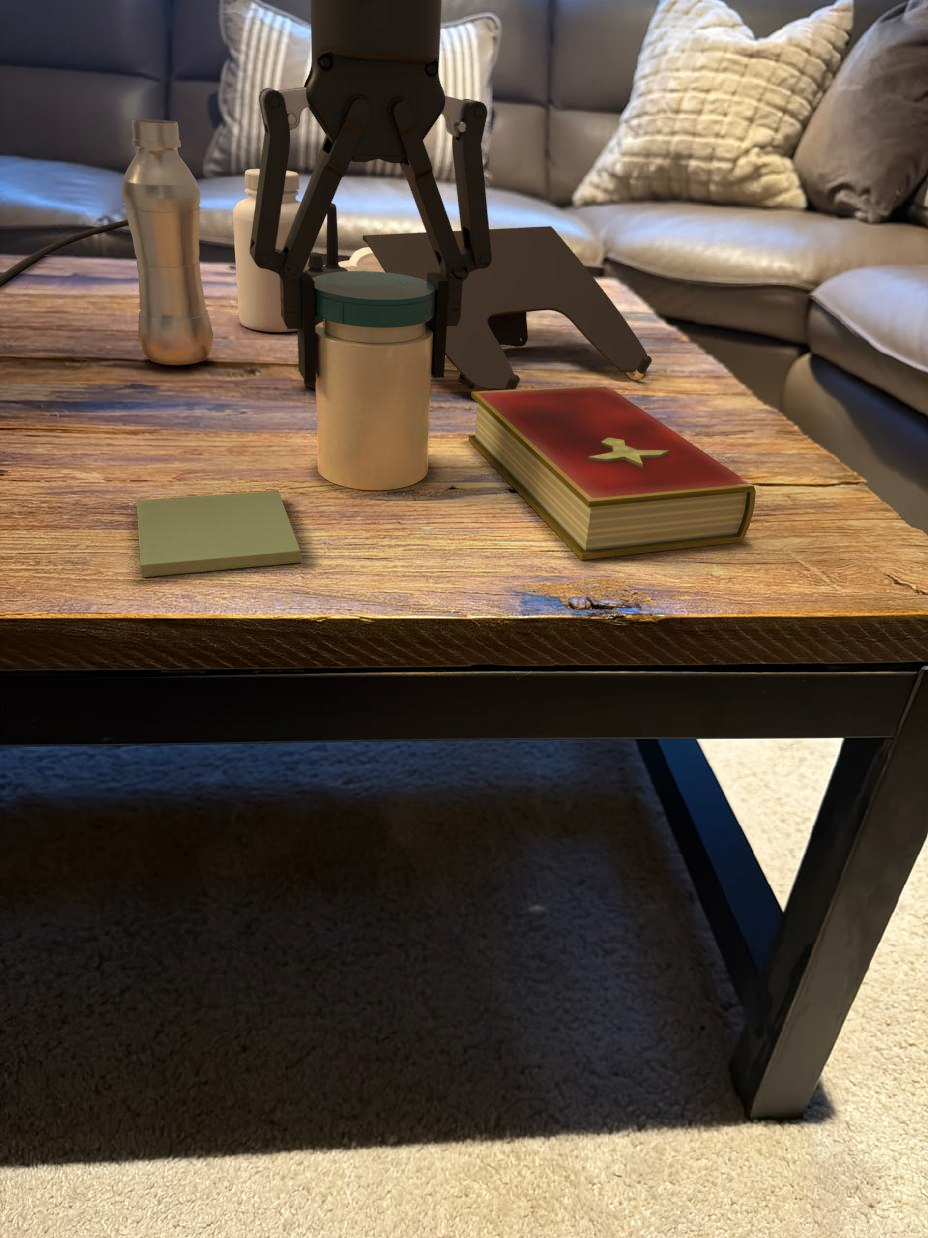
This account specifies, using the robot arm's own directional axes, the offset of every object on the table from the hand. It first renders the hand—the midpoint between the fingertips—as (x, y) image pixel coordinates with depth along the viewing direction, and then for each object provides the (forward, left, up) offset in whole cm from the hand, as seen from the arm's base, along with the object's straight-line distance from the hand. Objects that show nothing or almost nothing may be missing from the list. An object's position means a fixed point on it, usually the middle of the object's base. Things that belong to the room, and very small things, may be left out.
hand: (371, 373), depth 66 cm
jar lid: (0, 0, +6) cm, 6 cm away
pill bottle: (-41, -1, -7) cm, 41 cm away
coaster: (+9, -12, -7) cm, 17 cm away
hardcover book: (+6, +15, -7) cm, 18 cm away
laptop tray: (-24, +20, -7) cm, 32 cm away
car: (-58, +13, -7) cm, 60 cm away
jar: (0, 0, -7) cm, 7 cm away
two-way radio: (-19, +1, -7) cm, 21 cm away
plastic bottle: (-28, -12, -7) cm, 31 cm away
